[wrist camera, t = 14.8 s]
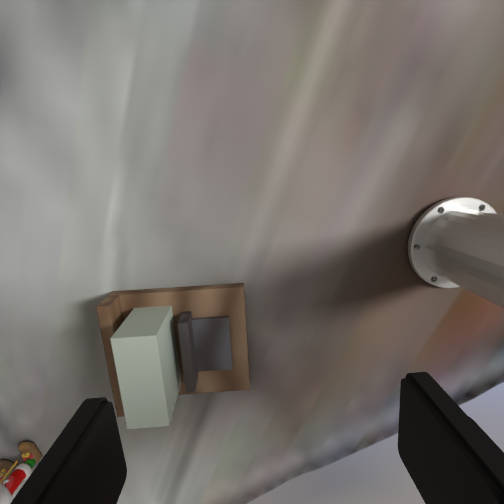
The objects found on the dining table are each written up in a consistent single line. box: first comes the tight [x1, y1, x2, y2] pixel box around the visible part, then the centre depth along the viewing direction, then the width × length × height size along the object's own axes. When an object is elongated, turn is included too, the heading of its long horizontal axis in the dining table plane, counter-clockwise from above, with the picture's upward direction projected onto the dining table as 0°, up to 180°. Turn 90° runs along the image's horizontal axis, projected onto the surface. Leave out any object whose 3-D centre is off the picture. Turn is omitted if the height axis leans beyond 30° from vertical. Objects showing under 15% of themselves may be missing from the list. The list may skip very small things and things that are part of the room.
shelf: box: [96, 283, 250, 417], centre depth 42 cm, size 18×16×5 cm
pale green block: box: [110, 305, 181, 429], centre depth 39 cm, size 5×12×8 cm, turn 3°
